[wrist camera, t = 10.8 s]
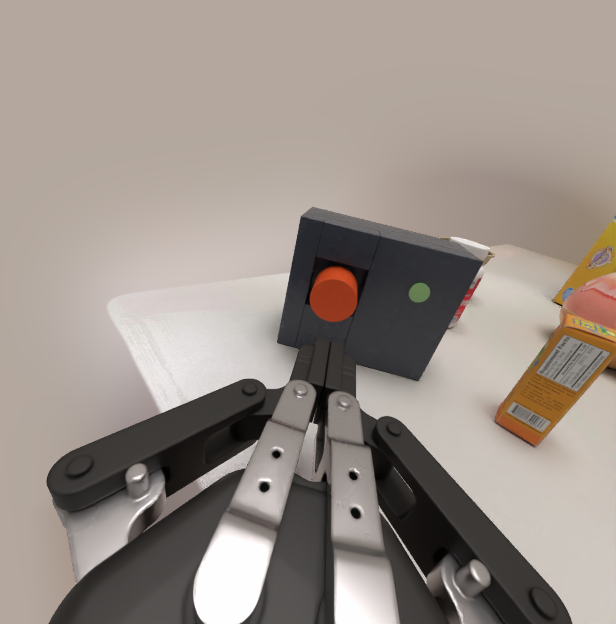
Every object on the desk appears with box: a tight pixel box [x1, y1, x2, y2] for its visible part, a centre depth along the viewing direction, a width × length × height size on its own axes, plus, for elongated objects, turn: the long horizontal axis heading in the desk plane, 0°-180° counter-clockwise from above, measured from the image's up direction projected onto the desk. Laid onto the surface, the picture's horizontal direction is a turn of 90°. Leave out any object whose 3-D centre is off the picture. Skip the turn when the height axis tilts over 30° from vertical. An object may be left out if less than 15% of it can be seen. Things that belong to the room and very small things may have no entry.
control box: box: [277, 207, 483, 380], centre depth 26 cm, size 14×6×12 cm, turn 81°
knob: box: [310, 266, 357, 322], centre depth 22 cm, size 4×3×4 cm
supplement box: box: [495, 314, 616, 446], centre depth 21 cm, size 3×3×10 cm
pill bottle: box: [448, 237, 490, 328], centre depth 37 cm, size 6×6×11 cm
